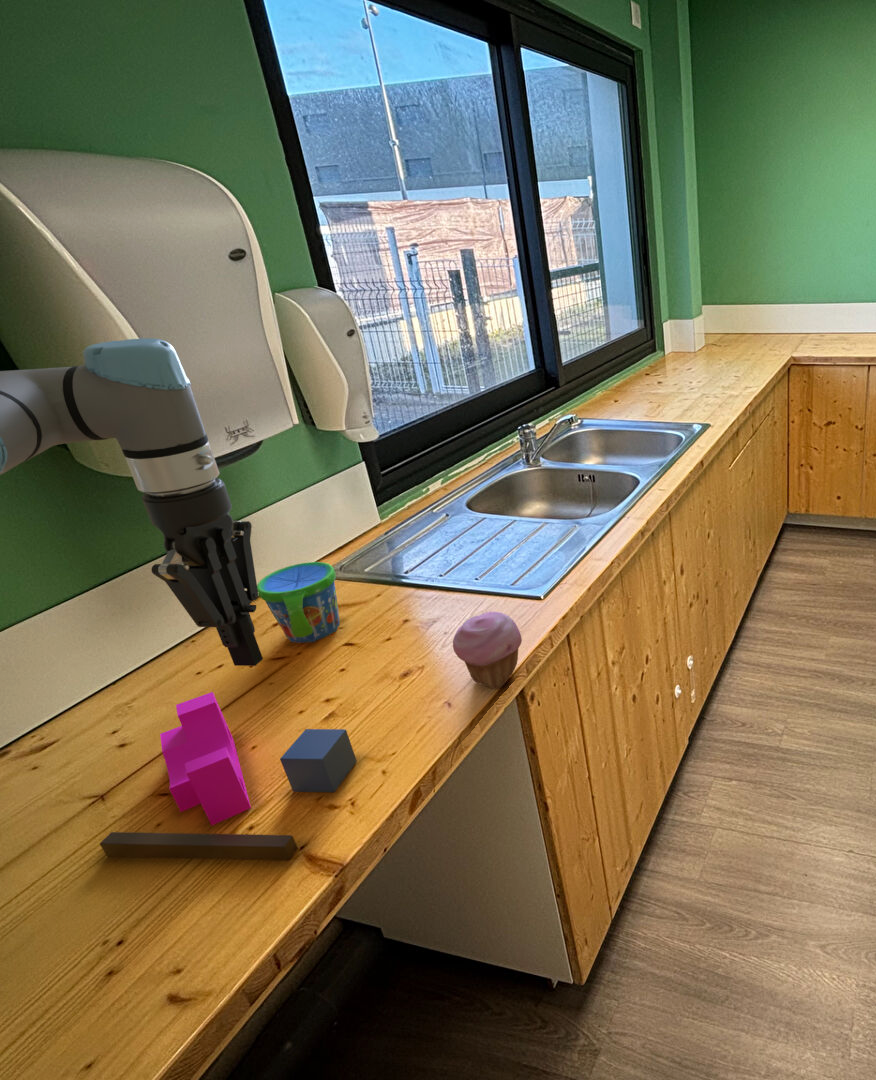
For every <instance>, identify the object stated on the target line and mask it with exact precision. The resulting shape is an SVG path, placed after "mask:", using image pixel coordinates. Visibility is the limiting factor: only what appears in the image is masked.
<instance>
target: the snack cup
mask: <svg viewBox="0 0 876 1080" xmlns="http://www.w3.org/2000/svg"><path fill="white" fill-rule="evenodd" d="M336 576H337V575H336V571H335V568H334V566H332V565H331V564H330V563H328V562H322V561H310V562H302V563H296V564H292V565H288V566H286V567H283V568H279V569H277V570H275V571H272V572H271V573H269V574H267V575H266V576H264V577H263V578H262V579H261V580H259V582H258V583H257V589H258V598H260V599H261V600H263V601H265V604H266V605H267V607H268V609H269V610H270V612H271V614H272V615H273V617H274V619H275V621H276V622H277V623H278V625H279V627H280V628H281V630H282V631H283V634H284V635H285V637H286V638H287V640H288V641H289V642H291V643H296V644H307V643H311V644H313V643H315V642H317V641H319V640H322V639H325V638H326V637H328V636H330V635H331V634H333V633H336V632H337V630H338V628H339V626H340V612H339V611H340V610H339V604H338V597H337V589H336V584H335V581H336Z"/></svg>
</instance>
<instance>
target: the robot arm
mask: <svg viewBox="0 0 876 1080" xmlns="http://www.w3.org/2000/svg"><path fill="white" fill-rule="evenodd" d="M82 356H83V360H84V363H83V364H80V365H74V366H73V365H72V366H65V367H48V368H32V369H31V368H30V369H29V368H28V369H14V370H0V476H2V475H4V474H5V473H7V472H8V471H10V470H12V469H13V468H15V467H17V466H18V465H20V464H22V463H26V462H27V461H29V460H30V459H32V458H34V457H36V456H37V455H40V454H41V453H43V452H45V451H47V450H48V449H50V448H52V447H54V446H58V445H63V444H64V445H65V444H72V443H73V444H74V443H83V442H90V441H91V442H92V441H102V440H109V439H116V440H117V443H118V445H119V447H120V449H121V451H122V454H123V456H124V458H125V461H126V463H127V466H128V469H129V471H130V475H131V476H132V479H133V481H134V484H135V486H136V489H137V490H138V491H139V492H141V493H143V494H142V496H141V501H142V503H143V506H144V508H145V510H146V513H147V515H148V518H149V520H150V522H151V524H152V525H153V527H155V528H157V529H158V530H159V531H160V532H161V533H162V535H163V547H164V550H165V552H167V553H166V554H165V557H164V559H163V561H162V562H161V563H155V564H153V565H152V566H151V573H152V574H153V575H154V576H156V578H158V579H160V580H162V581H164V582H165V584H166V585H167V586H168V588H169V589H170V590H171V592H172V593H173V595H174V596H175V597H176V599H177V601H178V602H179V603H180V604H181V605H182V607H183V608H184V609H185V611H186V613H187V614H188V616H189V617H190V618H191V619H192V621H193V622H194V623H195V625H196V626H197V627H198V628H216V631H217V634H218V636H219V638H220V641H221V644H222V646H224V647H225V648H227V650H228V653H229V656H230V658H231V660H232V664H233V665H234V666H235V667H236V666H237V667H256V666H257V665H258V664H259V663H261V662H262V661H263V660H264V657H263V655H262V652H261V648H260V646H259V644H258V642H257V638H256V635H255V631H256V629H255V625H254V623H253V619H252V616H251V614H250V613H255V611H257V605H256V604H251V603H252V601H257V600H258V598H259V595H258V589H257V584H258V583H257V577H256V570H255V563H254V556H253V551H252V544H251V543H252V542H251V536H252V528H253V527H252V523H251V521H249V520H234V519H233V518H232V516H231V514H230V512H231V510H232V507H233V506H232V505H233V504H232V502H231V499H230V496H229V494H228V490H227V488H226V484H225V482H224V481H223V480H222V479H220V478H218V477H219V475H220V474H221V472H220V470H219V467H218V464H217V462H216V459H215V456H214V453H213V451H212V448H211V445H210V442H209V437H208V434H207V433H206V430H205V426H204V424H203V423H204V422H203V421H202V420H203V419H202V417H201V415H200V411H199V409H198V405H197V401H196V398H195V396H194V394H193V389H192V386H191V385H192V383H191V382H190V378H188V377H187V374H186V372H185V370H184V367H183V366H182V362H181V361H180V360H181V359H180V358H179V356H178V353H177V351H176V349H175V348H174V346H173V345H172V344H171V343H170V342H168V341H166V340H163V339H161V338H151V337H150V338H149V337H147V338H129V339H124V340H122V339H121V340H111V341H104V342H98V343H94V344H90V345H88V346H86V347H85V348H84V349H83V351H82Z"/></svg>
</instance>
